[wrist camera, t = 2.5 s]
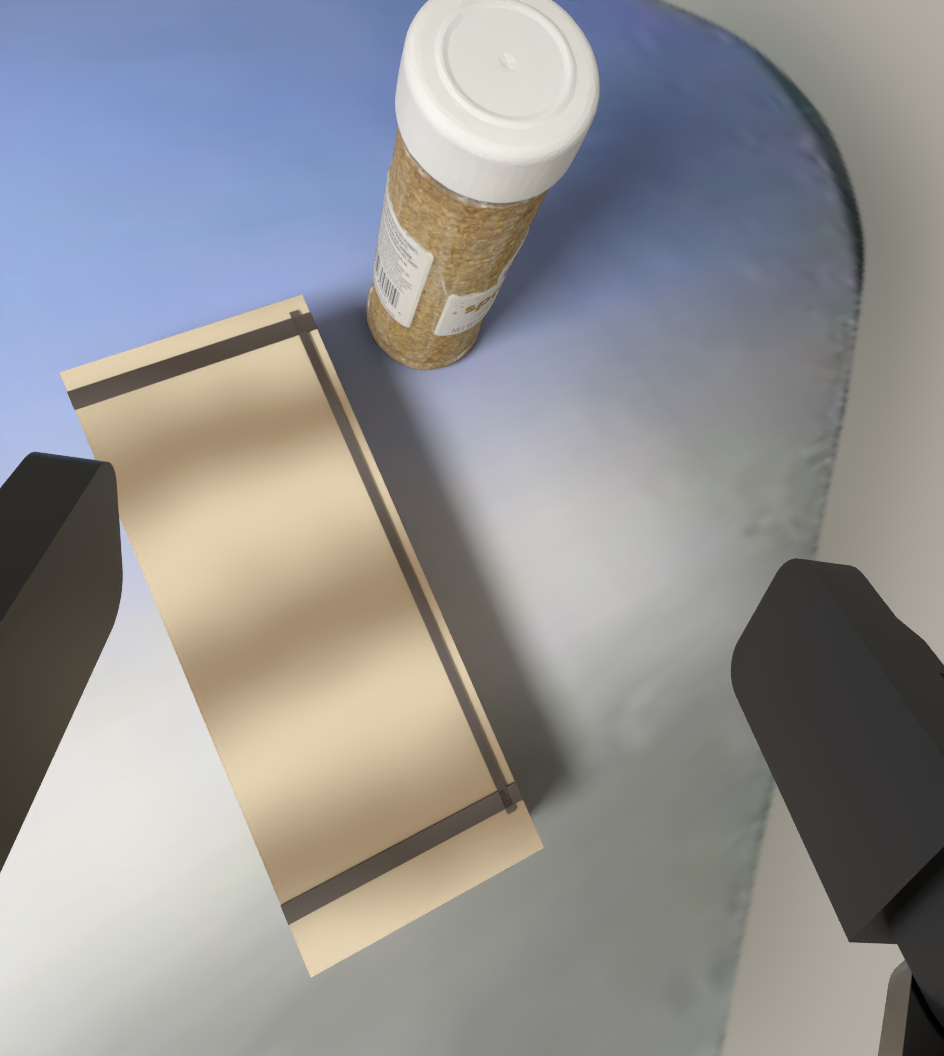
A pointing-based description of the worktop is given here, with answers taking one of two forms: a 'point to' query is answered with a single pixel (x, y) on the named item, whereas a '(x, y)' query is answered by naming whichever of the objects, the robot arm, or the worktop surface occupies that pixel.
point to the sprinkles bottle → (472, 164)
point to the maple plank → (303, 626)
